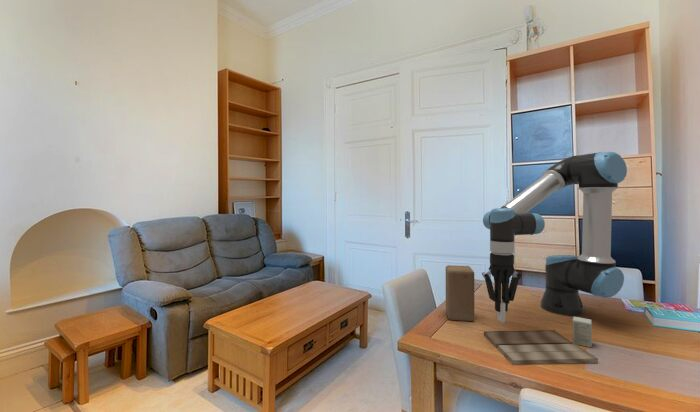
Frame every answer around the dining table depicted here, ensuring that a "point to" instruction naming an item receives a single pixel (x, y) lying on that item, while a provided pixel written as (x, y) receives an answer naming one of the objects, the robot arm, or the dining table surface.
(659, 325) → the dining table surface
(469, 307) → the wooden block
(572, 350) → the laid board
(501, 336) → the plank
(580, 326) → the small box
